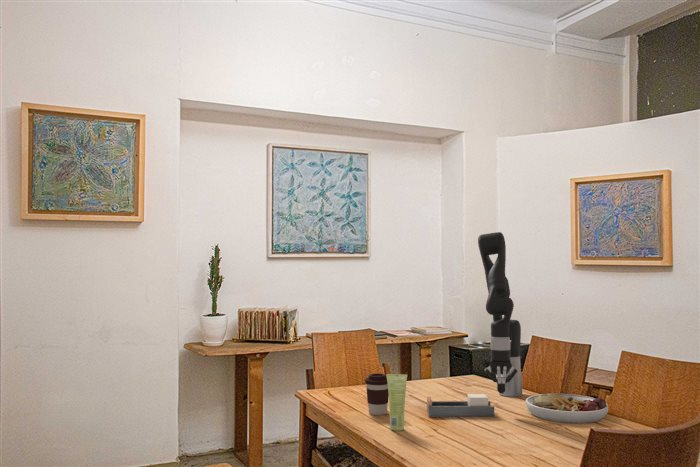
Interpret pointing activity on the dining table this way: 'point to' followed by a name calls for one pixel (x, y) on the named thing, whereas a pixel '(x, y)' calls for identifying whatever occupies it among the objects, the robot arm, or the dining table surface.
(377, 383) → the coffee cup
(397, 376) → the tube
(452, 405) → the chute
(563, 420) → the bowl
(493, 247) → the robot arm
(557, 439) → the dining table surface
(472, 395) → the block
